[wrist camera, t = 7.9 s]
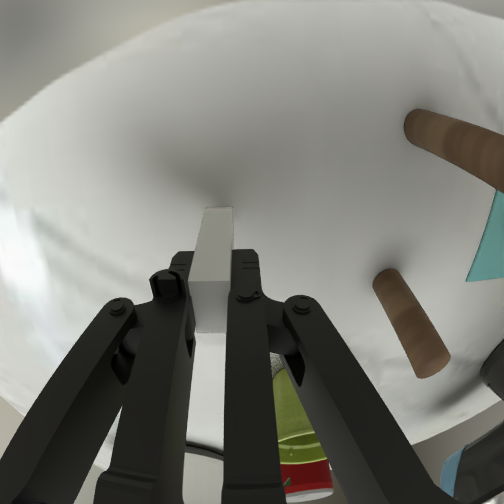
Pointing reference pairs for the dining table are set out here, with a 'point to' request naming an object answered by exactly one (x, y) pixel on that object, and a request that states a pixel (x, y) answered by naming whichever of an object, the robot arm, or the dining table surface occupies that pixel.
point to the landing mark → (491, 245)
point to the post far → (411, 324)
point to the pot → (202, 476)
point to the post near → (459, 144)
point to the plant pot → (293, 425)
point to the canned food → (306, 481)
